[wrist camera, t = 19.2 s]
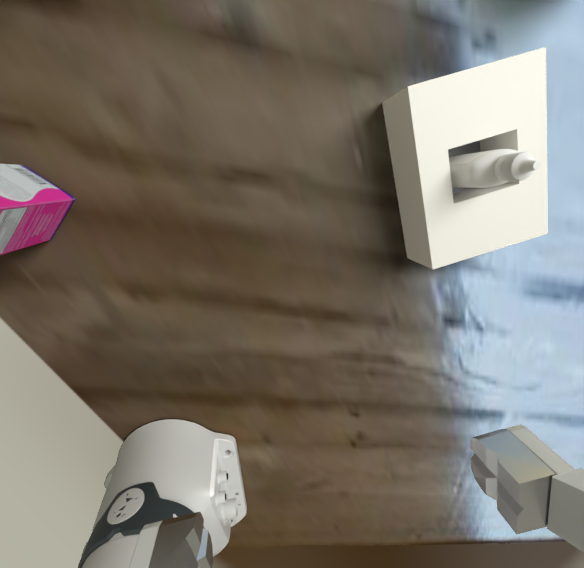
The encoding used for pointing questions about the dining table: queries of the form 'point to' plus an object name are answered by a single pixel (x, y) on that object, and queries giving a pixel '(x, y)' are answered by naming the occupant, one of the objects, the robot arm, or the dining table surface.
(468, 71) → the holder block
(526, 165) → the white plastic bottle
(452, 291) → the dining table surface
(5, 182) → the supplement box
